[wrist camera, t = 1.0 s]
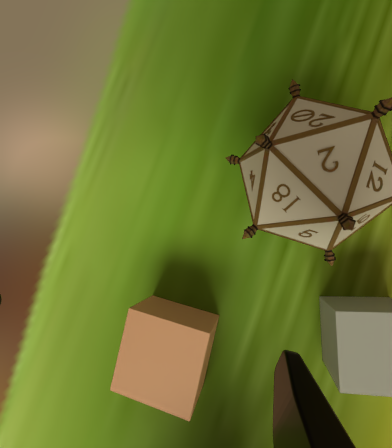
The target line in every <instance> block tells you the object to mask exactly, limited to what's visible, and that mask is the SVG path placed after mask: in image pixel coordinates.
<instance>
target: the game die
mask: <svg viewBox="0 0 392 448" xmlns="http://www.w3.org/2000/svg"><path fill="white" fill-rule="evenodd" d="M299 86H300V84H297V83H296V82H295V81H294V80H293V79H292V81H291V84H290V87H289V90H290V94H291V95H292V96H293V99H292V100H291V101H290V102H289V103H288V104H287V106H286V107H285V108H284V109H283V110H282V111H281V112H280V114H279V115H278V116H277V117H276V118H275V119H274V120H273V121H272V123H271V124H270V125H269V126H268V127H267V128H266V129H265V131H264V132H263V133H262V134H261V135H259V136H256V141H255V142H254V143H253V144H252V145H251V146H250V147H249V149H248V150H247V151H246V152H245V153H244V154H243V155H242V157H241V158H239V157H238V156H234V155H231V156H229V157H226V159H227V160H228V161H229V162H230V164H234V165H235V164H239V165H240V169H241V173H242V178H243V182H244V186H245V191H246V195H247V199H248V203H249V208H250V212H251V216H252V221H253V225H252V226H250V227H249V226H248V228H247V229H246V230H245V229H244V235H243V238H242V239H245V238H252V236H253V235H255V233H256V231H257V230H261V231H265V232H268V233H271V234H274V235H277V236H281V237H284V238H287V239H290V240H293V241H297V242H300V243H303V244H306V245H309V246H313V247H316V248H319V249H322V250H325V255H324V256H325V259H324V260H325V261H327V262H328V263H329V264H330V265H331V266H332V265H333V263H334V260H336V258H335V257H334V255H335V254H334V253H333V252H332V249H334V248H335V247H336V246H338V245H339V244H340V243H342V242H343V241H344V240H346V239H347V238H348V237H350V236H351V235H352V234H354V233H355V232H357V231H358V230H359V229H361V228H362V227H363V226H365V225H366V224H367V223H369V222H370V221H371V220H373V219H374V218H375V217H377V216H378V215H379V214H381V213H382V212H383V211H385V210H386V209H387V208H389V207H390V206H391V205H392V153H391V150H390V147H389V144H388V141H387V138H386V136H385V133H384V130H383V127H382V124H381V121H380V117H381V116H383V115H386V114H387V112H388V111H391V110H392V97H391V98H389V99H386V100H380V101H379V102H380V103H379V104H378V105H375V106H374V107H375V109H374V111H373V112H370V111H366V110H361V109H356V108H352V107H347V106H343V105H338V104H333V103H329V102H324V101H320V100H315V99H310V98H306V97H301V96H300V95H299V93H300V90H301V89H299Z"/></svg>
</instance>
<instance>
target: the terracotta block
mask: <svg viewBox="0 0 392 448" xmlns="http://www.w3.org/2000/svg"><path fill="white" fill-rule="evenodd" d="M218 319H219V315H216V314H213V313H210V312H206V311H203V310H200V309H196V308H193V307H190V306H186V305H183V304H180V303H176V302H173V301H170V300H166V299H163V298H160V297H156V296H153V295H152V296H151V297H149V298H147V299H145V300H143V301H141V302H139V303H138V304H136V305H134V306H132V307H130V308H129V310H128V315H127V319H126V323H125V328H124V332H123V336H122V341H121V345H120V349H119V354H118V358H117V362H116V367H115V371H114V375H113V380H112V384H111V388H110V390H111V391H113V392H116V393H118V394H121V395H123V396H126V397H129V398H131V399H134V400H136V401H139V402H141V403H144V404H146V405H149V406H151V407H154V408H157V409H159V410H162V411H164V412H167V413H169V414H172V415H174V416H177V417H179V418H182V419H184V420H187V421H190V420H191V417H192V414H193V412H194V409H195V406H196V404H197V401H198V398H199V396H200V393H201V390H202V388H203V384H204V380H205V375H206V371H207V367H208V362H209V358H210V354H211V349H212V345H213V341H214V336H215V332H216V328H217V323H218Z"/></svg>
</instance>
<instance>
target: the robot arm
mask: <svg viewBox="0 0 392 448" xmlns="http://www.w3.org/2000/svg"><path fill="white" fill-rule="evenodd" d="M0 304H1V295H0ZM273 444H274V448H356V447H355V446H354V444H353V442H352V441H351V439H350V437H349V436H348V434H347V432H346V431H345V429H344V427H343V426H342V424H341V422H340V421H339V419H338V417H337V416H336V414H335V412H334V411H333V409H332V408H331V406H330V404H329V403H328V401H327V399H326V398H325V396H324V394H323V393H322V391H321V389H320V388H319V386H318V384H317V383H316V381H315V379H314V378H313V376H312V374H311V373H310V371H309V369H308V368H307V366H306V364H305V363H304V361H303V359H302V358H301V356H300V355H299V354H298V353H296V352H293V351H288V350H284V351H283V352H282V354H281V356H280V358H279V361H278V363H277V365H276V368H275V373H274V404H273Z"/></svg>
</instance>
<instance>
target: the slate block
mask: <svg viewBox="0 0 392 448" xmlns="http://www.w3.org/2000/svg"><path fill="white" fill-rule="evenodd" d="M319 300H320V319H321V338H322V357H323V362H324V364H325V366H326V367H327V369H328V371H329V373H330V375H331V377H332V379H333V381H334V382H335V384H336V386H337V388H338V390H339V392H340V393H349V394H362V395H375V396H388V397H392V298H390V297H337V296H319Z"/></svg>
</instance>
